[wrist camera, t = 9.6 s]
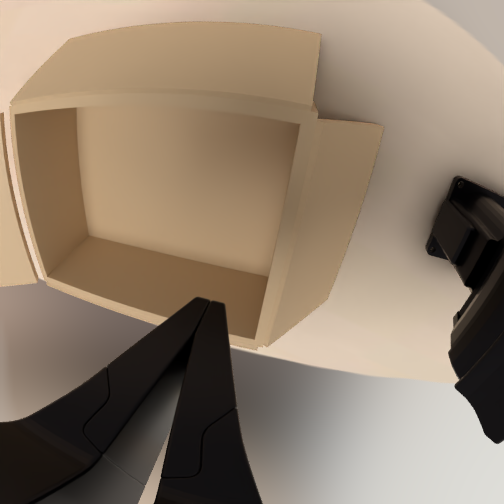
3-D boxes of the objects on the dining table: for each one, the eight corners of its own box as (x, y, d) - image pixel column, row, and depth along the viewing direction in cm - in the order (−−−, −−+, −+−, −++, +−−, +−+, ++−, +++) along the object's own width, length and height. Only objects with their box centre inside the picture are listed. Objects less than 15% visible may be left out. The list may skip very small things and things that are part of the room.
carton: (392, 58, 13) (440, 49, 7) (312, 324, 26) (308, 391, 20) (79, 39, 15) (9, 44, 9) (96, 270, 27) (58, 317, 22)
